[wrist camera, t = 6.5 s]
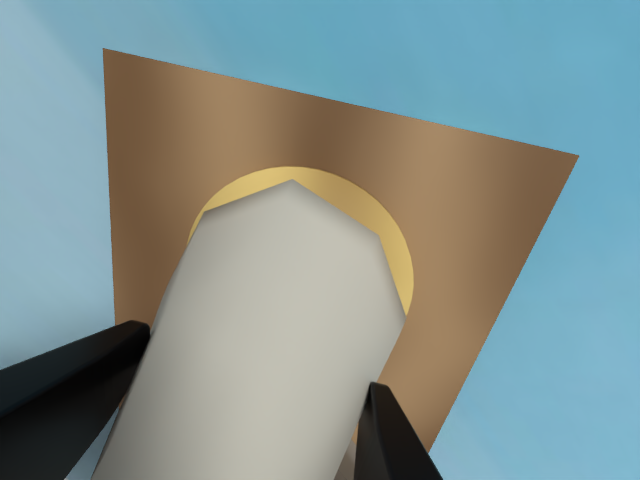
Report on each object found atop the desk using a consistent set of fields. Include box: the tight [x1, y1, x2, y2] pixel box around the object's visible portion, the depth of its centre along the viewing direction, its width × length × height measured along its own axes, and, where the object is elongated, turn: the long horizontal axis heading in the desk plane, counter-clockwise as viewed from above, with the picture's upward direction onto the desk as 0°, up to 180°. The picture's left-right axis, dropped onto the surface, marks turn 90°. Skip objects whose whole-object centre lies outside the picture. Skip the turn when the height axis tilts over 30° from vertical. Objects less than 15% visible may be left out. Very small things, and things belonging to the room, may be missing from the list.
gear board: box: [103, 48, 579, 480], centre depth 12 cm, size 14×22×4 cm, turn 168°
